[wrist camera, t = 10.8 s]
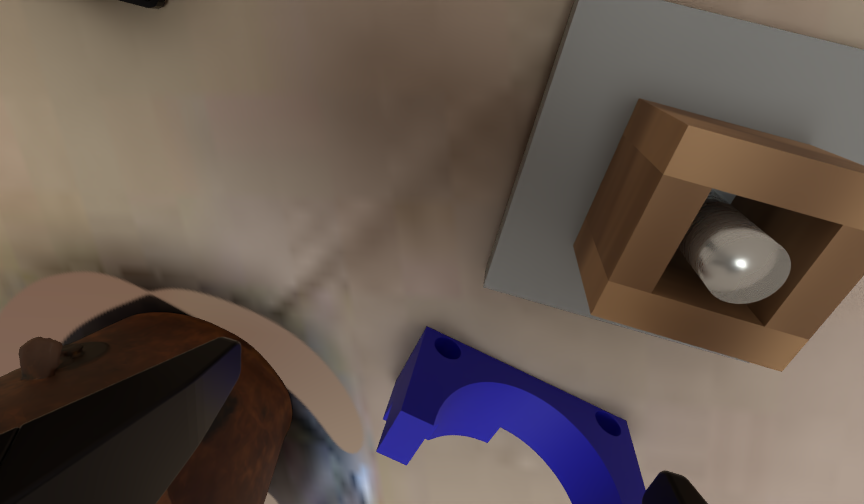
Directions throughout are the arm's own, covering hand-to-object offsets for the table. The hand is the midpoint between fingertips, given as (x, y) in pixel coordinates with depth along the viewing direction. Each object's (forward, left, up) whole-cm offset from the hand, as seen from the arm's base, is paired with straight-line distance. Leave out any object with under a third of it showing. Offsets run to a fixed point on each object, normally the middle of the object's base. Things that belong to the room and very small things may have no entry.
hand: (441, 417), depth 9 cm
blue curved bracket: (+4, -11, -12) cm, 17 cm away
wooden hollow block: (+7, +3, -10) cm, 13 cm away
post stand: (+7, +3, -12) cm, 14 cm away
